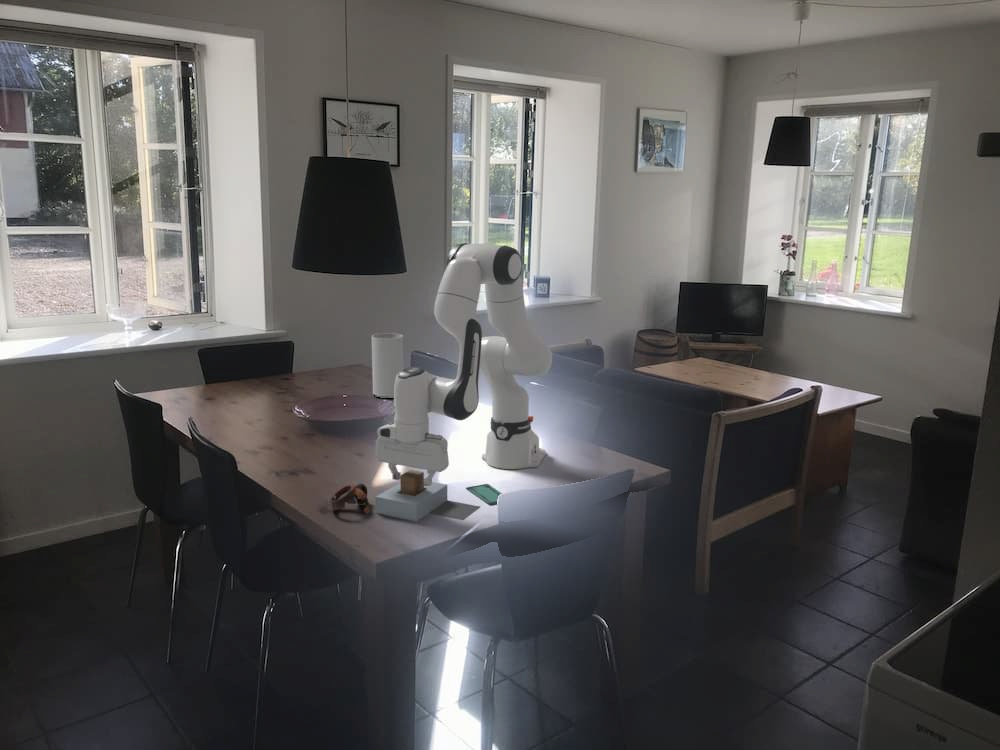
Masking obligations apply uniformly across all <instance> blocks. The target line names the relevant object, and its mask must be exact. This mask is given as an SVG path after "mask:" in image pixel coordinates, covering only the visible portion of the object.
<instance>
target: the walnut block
mask: <svg viewBox="0 0 1000 750" xmlns="http://www.w3.org/2000/svg"><path fill="white" fill-rule="evenodd" d="M424 479H425V473H424V471H419V470H414V469H410V470H408V471H406V472H404V473H403V474H402V473H401V475H400V479H399V480H400V483H401V494H406V495H411V496H416V495H418V494H419V493H421V492H423V491H424Z"/></svg>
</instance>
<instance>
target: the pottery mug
mask: <svg viewBox="0 0 1000 750" xmlns="http://www.w3.org/2000/svg"><path fill="white" fill-rule="evenodd" d="M329 502H330V503H331V510H332V511H339V510H342V511H345V510H346V508H345V507H346V504H347V505H350V504H352V505H356V504H357V505H365V507H364V508H363V510H362V511H363V512H364V514H365V515H368V514H370V513H371V512H372V507H371V505H370V502H369V500H368V487H367V486H366V485H365V484H364V483H359V484H356V485H354V484H347V485H345V486H343V487H342V488H339V490H337V491H336V492H335V493H334V496H332V497H331V498H330V499H329Z"/></svg>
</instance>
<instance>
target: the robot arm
mask: <svg viewBox="0 0 1000 750" xmlns="http://www.w3.org/2000/svg"><path fill="white" fill-rule="evenodd" d="M522 259H523V258H522V256H521V254H520V253H519V251H518V250H517V249H516V248H514V247H512V246H508V245H499V244H493V243H487V242H486V243H467V242H464V243H459V244H456V245H454V246H453V247H452V248H451V249H450V251H449V252H448V254H447V257H446V268H445V271H444V273H443V276H442V278H441V280H440V283H439V287H438V290H437V294H436V298H435V301H434V305H433V314H434V317H435V321H437V323H438V325H439V326H440V327H441V329H443V330H445V332H447V333H449V334H450V335H452V336H453V337H454V338H455V339H456V341H457V342H458V344H459V356H458V365H457V374H456V378H455V379H453V378H447V377H443V376H439V375H438V376H437V375H435V374H431V373H429V372H427V371H426V369H425V368H424V367H420V366H410V367H409V366H407V367H405V368H403V369H402V370H401V371H399V372H398V373H397V376H396V379H395V385H394V399H393V405H394V408H395V410H394V411H395V413H394V418H393V422H390V423H387V424H385V425H382V426H380V427H379V428H378V429H377V430H376V433H377V436H378V437H377V439H376V441H375V458H376V460H377V462H381V463H385V464H388V469H389V470H390V473H391V474H392V476H391V477H392V480H394V481H399V480H400V475H402V473H401V472H400V471H398V468H397V466H403V467H408V468H415V469H418V470H419V469H421V470H424V471H426V473H427V476H426V477H424V485H426V486H430V485H432V482H433V478H434V476H435V474H436V472H438V473H442V472H444V471H445V470H446V469H448V467H449V465H450V464H449V463H450V461H449V454H448V446H449V445H448V444H449V443H448V440H446V438H445V437H444V436H443V435H441V434H435V433H434V434H433V433H430V428H429V427H430V420H429V418H430V417H429V413H432V414H437V415H441V416H445V417H447V418H448V417H449V418H451V419H454V420H457V421H464V420H466V419H468V418H469V417H470V416H472V415H473V414H474V413H475V412H476V411H477V408H478V406H479V402H480V401H479V400H480V399H479V397H480V396H479V374H480V372H481V373H482V375H483V376H484V378H485V379H486V382H487V384H488V386H489V389H490V393H491V406H492V410H491V412H492V416H491V417H490V424H489V425H490V431H489V432H488V433H487V434H486V445H485V453H483V454H482V455H481V459H482V460H484V461H485V462H486V464H487V465H489V466H491V467H493V468H497V469H503V470H520V469H524V468H538V467H539V466H540V464H541V462H542V461H543V459H544V457H545V456H546V455H547V450H546V449H544V448H541V447H540V437H539V436H538V434H537V433H535V432H534V431H533V430H532V426H531V425H532V423H533V421H534V416H533V415H529V409H530V408H529V406H530V403H529V401H530V396H529V394H528V391H527V390H526V388H524V387H523V386H521V385H520V384H519V383H518V382H517V380H516V379H515V376H523V377H538V376H544V375H546V374H547V373H548V372H549V370H550V368H551V366H552V365H553V353H552V350H551V348H550V347H549V345H548V344H547V343H546V342H544V340H542V339H541V338H540V337H539V336H538V335H537V334H536V333H535V331H534V330H533V328H532V326H531V325H530V322H529V318H528V316H527V311H526V304H525V296H524V287H523V281H522V277H521V274H522V271H523V260H522ZM481 285H484V294H485V301H486V302H485V303H486V311H487V318H488V319H487V320H488V322H489V324H490V326H491V327H492V328H493V329H495V330H496V331H498V332H499V333H501V335H502V336H496V335H492V336H489V335H488V336H483V334H482V333H483V331H482V326H481V324H480V323H479V322H478V317H477V310H478V309H477V308H478V303H479V299H480V294H481V293H480V292H481ZM482 336H483V337H482ZM514 375H515V376H514Z"/></svg>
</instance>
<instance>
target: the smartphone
mask: <svg viewBox="0 0 1000 750" xmlns="http://www.w3.org/2000/svg"><path fill="white" fill-rule="evenodd" d="M465 490H467V491H468V492H469V493H471V494H472V495H474V496H475V497H476V498H478V499H479V500H480V501H482V502H483V503H485V504H487V505H488V506H489V507H494V506H498V505H497V499H498V496H499V495H500V494H503V492H501V491H500V490H497V489H496V488H494V487H493V486H492V485H491V484H489V483H484V484H480V485H479V484H477V485H472V486H467V487H465Z"/></svg>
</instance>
